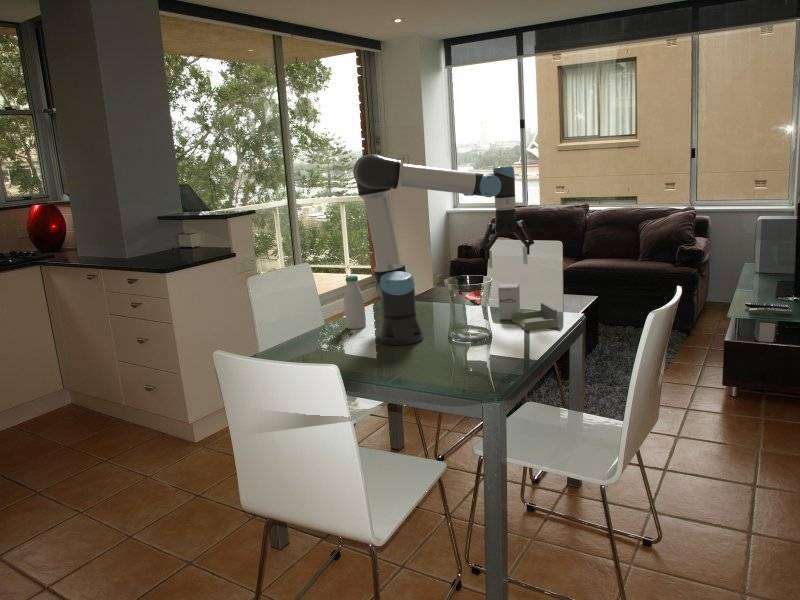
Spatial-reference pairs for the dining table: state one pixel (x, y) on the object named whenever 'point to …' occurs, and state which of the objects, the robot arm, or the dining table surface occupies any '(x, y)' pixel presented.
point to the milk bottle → (354, 304)
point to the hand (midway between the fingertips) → (508, 265)
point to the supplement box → (508, 300)
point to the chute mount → (536, 318)
